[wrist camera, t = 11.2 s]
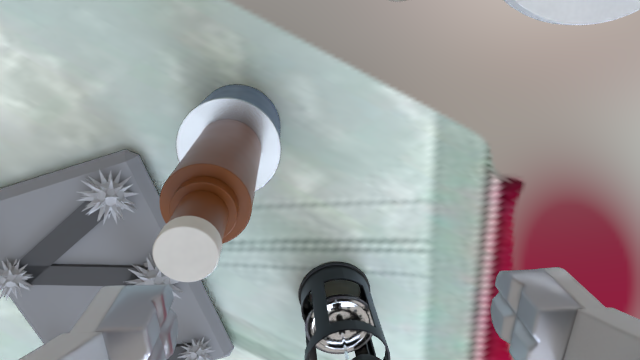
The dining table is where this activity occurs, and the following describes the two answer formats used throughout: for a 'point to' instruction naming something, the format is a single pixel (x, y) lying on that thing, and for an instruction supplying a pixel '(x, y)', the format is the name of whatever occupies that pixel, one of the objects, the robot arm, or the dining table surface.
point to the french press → (339, 315)
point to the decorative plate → (94, 250)
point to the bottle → (207, 200)
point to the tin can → (243, 108)
